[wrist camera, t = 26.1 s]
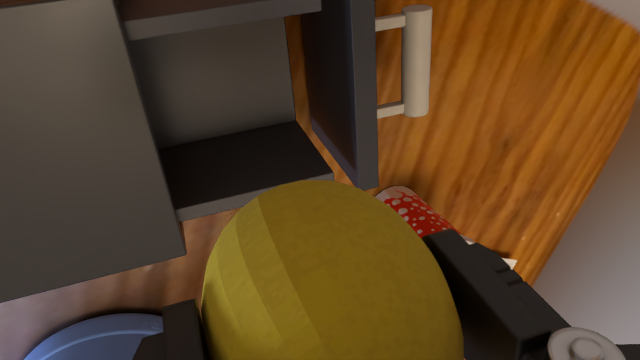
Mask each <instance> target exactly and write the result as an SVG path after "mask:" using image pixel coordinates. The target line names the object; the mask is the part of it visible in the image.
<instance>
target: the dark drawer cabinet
mask: <svg viewBox="0 0 640 360" xmlns="http://www.w3.org/2000/svg"><path fill="white" fill-rule="evenodd" d="M118 6H119V0H0V303H2V302H6V301H10V300H14V299H18V298H22V297H25V296H29V295H33V294H37V293H41V292H45V291H49V290H53V289H56V288H60V287H64V286H68V285H72V284H76V283H80V282H83V281H87V280H91V279H95V278H99V277H103V276H107V275H111V274H114V273H118V272H122V271H126V270H130V269H134V268H138V267H142V266H145V265H149V264H153V263H157V262H161V261H165V260H169V259H173V258H176V257H180V256H184V255H186V254H187V251H186V244H185V237H184V229H183V222H179V220H178V217H177V213H176V210H175V206H174V203H173V199H172V196H171V192H170V189H169V185H168V182H167V178H166V175H165V171H164V168H163V164H162V161H161V157H160V154H159V150H158V147H157V143H156V140H155V136H154V133H153V129H152V126H151V122H150V119H149V115H148V112H147V108H146V105H145V101H144V98H143V94H142V91H141V87H140V84H139V80H138V77H137V73H136V70H135V66H134V63H133V59H132V55H131V52H130V48H129V45H128V41H127V38H126V34H125V31H124V27H123V24H122V20H121V17H120V13H119V10H118Z"/></svg>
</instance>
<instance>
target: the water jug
mask: <svg viewBox="0 0 640 360" xmlns="http://www.w3.org/2000/svg"><path fill="white" fill-rule="evenodd" d="M161 332H163V319H162V317H161V316H156V315H151V314H141V313H121V314H111V315H105V316H100V317H95V318H91V319H88V320H85V321H82V322H79V323H76V324H74V325H71V326H69V327H67V328H65V329H62V330H61V331H59V332H57V333H55V334H53V335H52V336H50V337H49V338H47V339H46V340H44V341H43V342H42V343H40V344H39V345H38V346H37V347H36V348H35V349H33V350H32V351H31V352H30V353H29V354H28V356H27V357H26V358H25V359H24V360H132V359H133V357H134V355H135V352H136V350H137V348H138V346H139V344H140V342H141V340H142V338H144V337H147V336H150V335H154V334H157V333H161Z"/></svg>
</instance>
